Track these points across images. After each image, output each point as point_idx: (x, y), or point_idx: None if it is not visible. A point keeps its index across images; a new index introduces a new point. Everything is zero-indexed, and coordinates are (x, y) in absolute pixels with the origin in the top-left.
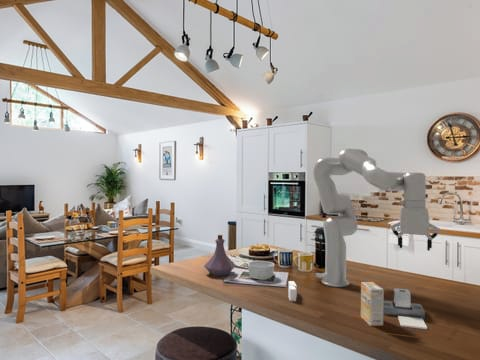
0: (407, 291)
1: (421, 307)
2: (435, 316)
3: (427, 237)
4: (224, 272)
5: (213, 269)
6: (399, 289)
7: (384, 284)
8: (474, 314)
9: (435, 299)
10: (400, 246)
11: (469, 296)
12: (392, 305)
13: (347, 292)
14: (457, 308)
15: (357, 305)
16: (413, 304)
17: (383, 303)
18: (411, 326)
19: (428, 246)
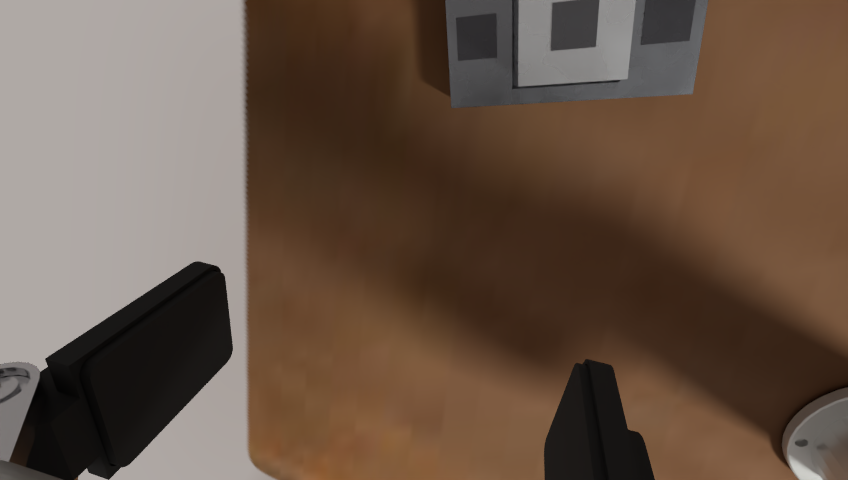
0: (533, 28)
1: (454, 43)
2: (396, 63)
3: (22, 421)
4: None
5: None
6: (588, 61)
7: None
8: (248, 158)
9: (378, 300)
10: (600, 378)
11: (264, 358)
12: None
13: (839, 307)
14: (304, 212)
15: (842, 80)
16: (492, 84)
17: (692, 18)
18: None
19: (164, 290)
